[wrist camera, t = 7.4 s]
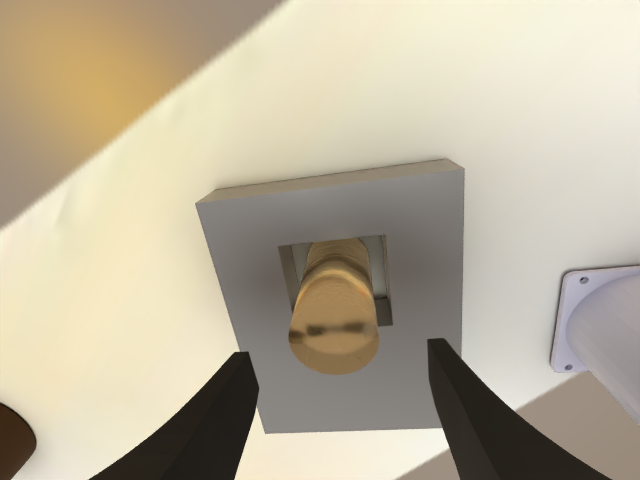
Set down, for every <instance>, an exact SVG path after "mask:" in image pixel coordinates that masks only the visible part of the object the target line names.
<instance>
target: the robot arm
mask: <svg viewBox="0 0 640 480" xmlns="http://www.w3.org/2000/svg"><path fill="white" fill-rule="evenodd" d="M582 277H584V279H583V280H581V281H580V279H581V278H582ZM427 348H428V375H429V383H430V387H431V391H432V396H433V400H434V404H435V407H436V410H437V413H438V416H439V419H440V422H441V425H442V427H443V430H444V433H445V436H446V439H447V442H448V444H449V447H450V450H451V453H452V456H453V459H454V461H455V464H456V467H457V470H458V474H459V477H460V480H612V479H610V478H608V477H606V476H605V475H603V474H601V473H600V472H598V471H596V470H595V469H593V468H591V467H590V466H588V465H587V464H585V463H584V462H582V461H581V460H579V459H577V458H576V457H574V456H573V455H571V454H570V453H568V452H567V451H566V450H564V449H563V448H561V447H560V446H559V445H557V444H556V443H554V442H553V441H552V440H550V439H549V438H547V437H546V436H545V435H543V434H542V433H540V432H539V431H538V430H537V429H535V428H534V427H533V426H532V425H530V424H529V423H528V422H526V421H525V420H524V419H523V418H522V417H520V416H519V415H518V414H517V413H516V412H514V411H513V410H512V409H511V408H510V407H509V406H508V405H506V404H505V403H504V402H503V401H502V400H501V399H500V398H499V397H498V396H497V395H496V394H495V393H494V392H493V391H492V390H490V389H489V388H488V387H487V386H486V385H485V384H484V383H483V382H482V381H481V379H480V378H479V377H478V376H477V375H476V374H475V373H474V372H473V371H472V370H471V369H470V368H469V367H468V366H467V364H466V363H465V362H464V361H463V360H462V359H461V358H460V356H459V355H458V354H457V353H456V352H455V350H454V349H453V348H452V347H451V345H450V344H449V343H448V341H447V340H446V339H444V338H433V339H427ZM550 365H551V368H552V369H553V370H554V371H555V372H558V373H564V372H583V371H591V373H592V374H593V375H594V376H595V377H596V378H597V379H598V380H599V381H600V383H601V384H602V385H603V386H604V387H605V388H606V389H607V390H608V391H609V393H610V394H611V395H612V396H613V397H614V398H615V399H616V400H617V401H618V403H619V404H620V405H621V406H622V407H623V408H624V409H625V410H626V412H627V413H628V414H629V415H630V416H631V417H632V418H633V419H634V420H635V422H636V423H637V424H638V425H639V426H640V266H631V267H619V268H608V269H596V270H585V271H573V272H569V273H568V274H566V275H565V276H564V279H563V284H562V291H561V297H560V304H559V311H558V317H557V324H556V331H555V337H554V344H553V351H552V357H551V364H550ZM566 365H567V366H566ZM258 394H259V385H258V381H257V378H256V375H255V371H254V368H253V365H252V361H251V358H250V355H249V351H245V352H234V353H233V354H232V355H231V357H230V358H229V359H228V360H227V361H226V362H225V363H224V364H223V365H222V366H221V368H220V369H219V370H218V371H217V372H216V373H215V374H214V375H213V376H212V377H211V379H210V380H209V381H208V382H207V383H206V384H205V385H204V386H203V387H202V388H201V389H200V390H199V391H198V392H197V393H196V394H195V395H194V396H193V397H192V398H191V399H190V400H189V401H188V402H187V403H186V404H185V405H184V406H183V407H182V408H181V409H180V410H179V411H178V412H177V413H176V414H175V415H174V416H173V417H172V418H171V419H170V420H168V421H167V422H166V423H165V424H164V425H163V426H161V427H160V428H159V429H158V430H157V431H156V432H154V433H153V434H152V435H151V436H149V437H148V438H147V439H146V440H144V441H143V442H142V443H140V444H139V445H138V446H136V447H135V448H134V449H133V450H131V451H130V452H129V453H127V454H126V455H125V456H123V457H122V458H120V459H119V460H117V461H116V462H115V463H113V464H112V465H110V466H109V467H107V468H106V469H104V470H103V471H101V472H100V473H98V474H97V475H95V476H93V477H92V478H90V479H89V480H234V479H235V475H236V472H237V468H238V465H239V462H240V459H241V456H242V453H243V450H244V446H245V443H246V440H247V437H248V434H249V431H250V428H251V424H252V421H253V418H254V414H255V410H256V405H257V400H258Z"/></svg>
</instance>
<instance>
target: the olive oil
mask: <svg viewBox="0 0 640 480" xmlns="http://www.w3.org/2000/svg"><path fill="white" fill-rule="evenodd" d="M34 449H35V439H34V436H33V433H32V431H31V430H30V428H29V427H28V425H27V424H26V423H25V422H24V421H23V420H22V419H21V418H20V417H19V416H18V415H17V414H15V413H14V412H13V411H11V410H10V409H8V408H6V407H5V406H3V405H1V404H0V480H11V479H12V478H13V477H14V475H15V474H16V473H17V472H18V471H19V470H20V468H21V467H22V466H23V465H24V464H25V463H26V461H27V460H28V459H29V458H30V456H31V455H32V454H33V452H34Z"/></svg>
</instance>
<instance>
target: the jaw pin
mask: <svg viewBox="0 0 640 480" xmlns="http://www.w3.org/2000/svg"><path fill="white" fill-rule="evenodd" d="M288 339H289V344H290V348H291V350H292V352H293V354H294V355H295V356H296V358H297V359H298V360H299V361H300V362H301V363H302V364H304V365H305V366H307V367H308V368H310V369H312V370H314V371H317V372H320V373H324V374H330V375H342V374H348V373H352V372H355V371H357V370H359V369H361V368H363V367H364V366H366V365H367V364H368V363H369V362H370V361H371V360H372V359H373V358H374V356H375V355H376V353H377V350H378V347H379V332H378V324H377V317H376V309H375V302H374V294H373V287H372V279H371V272H370V264H369V257H368V252H367V249H366V247H365V245H364V244H363V243H362V242H361V240H359V239H358V238H348V239H339V240H329V241H320V242H314V243H313V244H312V246H311V248H310V251H309V254H308V258H307V262H306V266H305V270H304V274H303V278H302V281H301V285H300V289H299V293H298V297H297V301H296V305H295V309H294V313H293V317H292V321H291V325H290V329H289V334H288Z"/></svg>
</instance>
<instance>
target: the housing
mask: <svg viewBox="0 0 640 480" xmlns="http://www.w3.org/2000/svg"><path fill="white" fill-rule="evenodd" d="M464 170H465V169H464V168H462V167H461V166H459V165H457V164H456V163H454V162H452V161H450V160H449V159H441V160H434V161H426V162H419V163H411V164H404V165H396V166H389V167H381V168H374V169H367V170H359V171H352V172H344V173H337V174H329V175H322V176H314V177H307V178H299V179H292V180H284V181H277V182H269V183H262V184H254V185H247V186H239V187H232V188H225V189H217V190H214V191H213V192H211V193H210V194H208V195H207V196H205V197H204V198H203V199H201V200H200V201H198V202H197V203H195V205H196V208H197V211H198V215H199V218H200V221H201V225H202V228H203V231H204V234H205V238H206V241H207V244H208V248H209V251H210V254H211V257H212V261H213V264H214V267H215V271H216V274H217V277H218V280H219V284H220V287H221V290H222V294H223V297H224V300H225V303H226V307H227V310H228V313H229V317H230V320H231V323H232V326H233V330H234V333H235V336H236V340H237V343H238V346H239V349H240V352H245V351H249V355H250V358H251V361H252V365H253V368H254V371H255V375H256V378H257V381H258V385H259V394H258V400H257V408H258V412H259V415H260V418H261V422H262V425H263V428H264V431H265V434H270V433H302V432H333V431H365V430H396V429H428V428H443V427H442V425H441V422H440V419H439V416H438V413H437V410H436V407H435V404H434V400H433V396H432V391H431V387H430V383H429V375H428V348H427V339H433V338H444V339H446V340H447V341H448V343H449V344H450V345H451V347H452V348H453V349H454V350H455V352H456V353H457V354H458V355H459V356H460V358H461V341H462V284H463V227H464ZM376 235H382V238H383V250H384V262H385V274H386V286H387V298H385V299H374V302H375V309H376V317H377V324H378V332H379V347H378V350H377V353H376V355H375V356H374V358H373V359H372V360H371V361H370V362H369V363H368V364H367V365H366V366H364V367H363V368H361V369H359V370H357V371H355V372H352V373H348V374H342V375H330V374H324V373H320V372H317V371H314V370H312V369H310V368H308V367H307V366H305V365H304V364H302V363H301V362H300V361H299V360H298V359H297V358H296V356H295V355H294V354H293V352H292V350H291V348H290V344H289V339H288V334H289V329H290V325H291V321H292V317H293V313H294V309H295V305H296V301H297V297H298V293H299V286H298V281H297V276H296V271H295V266H294V261H293V256H292V251H291V246H290V245H292V244H301V243H311V242H320V241H329V240H339V239H348V238H357V237H366V236H376Z"/></svg>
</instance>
